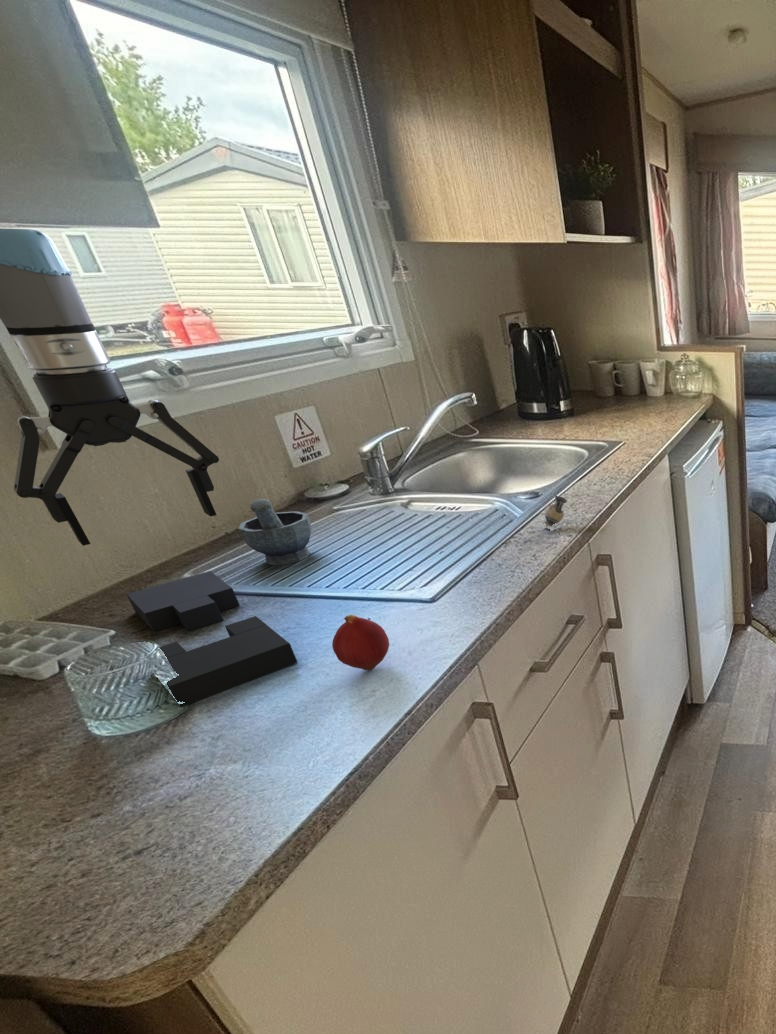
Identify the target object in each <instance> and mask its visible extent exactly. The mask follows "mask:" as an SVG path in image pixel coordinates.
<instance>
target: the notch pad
mask: <svg viewBox="0 0 776 1034" xmlns="http://www.w3.org/2000/svg"><path fill="white" fill-rule="evenodd" d="M224 627H225V630H226V632H227V634H228V636H229V637H226V638H222V639H219V640H216V641H213V642H211V643H207V644H204V645H202V646H198V647H195V648H192V649H189V650H186V649H185V648H184V647H183V646H182V645H181V644H180V643H179V642H178V641H174V642H171V643H168V644H165V645H162V646H158V647H159V648H160V649H161V650H162V651H163V652H164V654H165V656H166V657H167V659H168V661H169V663H170V664H171V666H172V668H173V669H174V671H176V673H177V674H179V676H177V677H176V678H173V679H172V680H170V681H168V682H167V685H168V687H169V689H170V690H171V692H172V694H173V696H174V697H175V699H176V700H177V702H179V701H180V702H182V701H183V702H185V703H183V704H180V705H179V704H178V703H177V702H176V704H177V705H178V706H179V707H180V708H182V707H185V706H188V705H190V704H193V703H196V702H198V701H201V700H203V699H205V698H209V697H212V696H214V695H216V694H219V693H222V692H225V691H227V690H229V689H233V688H234V687H238V686H240V685H242V684H245V683H247V682H251V681H253V680H256V679H259V678H261V677H263V676H266V675H269V674H272V673H274V672H277V671H279V670H282V669H285V668H287V667H290V666H292V665H293V666H294V665H295V664H297V663H298V660H297V657H296V655H295V653H294V651H293V648H292V645H291V643H290V642H289V641H287V640H286V639H285V638H284V637H282V636H281V635H280V634H279V633H278V632H276V631H275V630H274V629H273V628H271V627H270V626H269V625H268V624H267V623H265V622H264V621H263V620H262V619H260V618H259V617H258V616H257V615H255V616H252V617H248V618H245V619H242V620H239V621H235V622H233V623H230V624H226V625H224ZM175 699H173V700H174V701H175Z"/></svg>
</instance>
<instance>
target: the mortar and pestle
mask: <svg viewBox="0 0 776 1034" xmlns="http://www.w3.org/2000/svg"><path fill="white" fill-rule="evenodd" d="M250 510H251V511H252V512H254V513H255V517H253V518H250V519H248V520H245V521H242V522H241V523H240V525H239V526H238V531H239V533H240V536H241V538H242V539H243V541H244V542H245V544H246V545H247V546H248V547H250V548H251V549H252V550H253V551H255V552H258V553H260V554H262V555H264V556H265V557H264V558H265V563H266V564H267V565H272V566H282V565H283V566H285V565H289V564H294V563H298V562H300V561H302V560H305V559H307V558H308V557H310V551H309V548H307V545H308V544H309V543H310V539H311V534H312V530H313V529H312V522H311V518H310V516H309V514H308V513H307V512H302V511H299V510H297V511H295V510H294V511H278V512H275V510H274V509H273V504H272V502H271V501H270V500H268V499H267V498H257V499H255V500H253V501H252V502H251V503H250Z"/></svg>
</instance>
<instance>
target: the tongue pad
mask: <svg viewBox="0 0 776 1034" xmlns="http://www.w3.org/2000/svg"><path fill="white" fill-rule="evenodd" d="M235 593H236V592H235V591H234V589H233V587H232V586H230V585H229V584H228V583H227V582H226V581H224V580H223V579H221V578H220V577H219V576H217V575H216V574H215V573H214V572H213V571H211V570H209V571H205V572H202V573H198V574H194V575H190V576H187V577H183V578H180V579H175V580H172V581H168V582H163V583H161V584H158V585H157V584H156V585H154V586H150V587H146V588H143V589H138V590H135V591H132V592H127V593H125V595H126V597H127V599H128V601H129V602H130V604H131V607H132V609H133V610H134V612H135V613H136V614H137V615H138V617H140V619H141V620H142V621H143V622H145V624H146V625H147V626H148V627H149V628H150V630H151V631H153V633H155V632H156V633H157V632H159V631H162V630H165V629H169V628H171V627H175V626H178V625H182V626H183V627H184V628H185V629H186V630H187V631H188V632H191V631H194V630H198V629H201V628H203V627H207V626H210V625H213V624H216V623H219V622H222V621H224V618H223V616H222V613H221V612H223V611H226V610H230V609H234V608H236V607H239V606H240V602H239V600H238V598H237V596H236V594H235Z"/></svg>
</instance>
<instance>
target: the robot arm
mask: <svg viewBox="0 0 776 1034" xmlns="http://www.w3.org/2000/svg"><path fill="white" fill-rule="evenodd" d="M73 279H74V278H73V277H72V271H71V269H69V268H68V266H67V264H66V262H65V261H64V259H63V257H62V255H61V253H60V251H59V250H58V248H57V246H56V244H55V242H54V241H53V240H52V238H51V237H50V236H48V235H47V234H46V233H45V232H42V231H40V230H36V229H30V228H27V229H26V228H5V227H4V228H1V227H0V320H1V322H2V324H3V325H4V327H5V328H6V330H7V332H8V334H9V336H10V339H11V340H12V342H13V344H14V346H15V348H16V350H17V352H18V354H19V356H20V357H21V359H22V361H23V364H24V365H25V367H26V368H27V369H29V370H31V371H35V373H34V374H33V377H31V379H32V380H33V382H34V384H35V386H36V388H37V389H38V392H39V394H40V395H41V397H42V399H43V401H44V402H45V405H46V407H47V411H48V415H47V416H27V415H18V416H17V417H16V419H15V421H16V424H17V427H18V428H19V431H20V434H21V437H20V443H19V450H18V457H17V464H16V471H15V476H14V483H13V484H14V485H13V491H14V493H15V494H16V495H17V496H18V497H20V498H23V499H28V498H29V499H30V498H31V499H32V498H33V499H39V500H41V501H42V502H43V504H44V506H45V508H46V509H47V511H48V513H49V515H50V517H51V518H52V520H54V521H55V522H57V523H58V524H59V523H60V524H61V523H65V522H67V523H68V525H69V526H70V529H71V531H72V532H73V533H74V535H75V537H76V539H77V542H79V543H80V544H81V546H82V547H84V546H88V545H92V544H91V542H90V540H89V538H88V536H87V534H86V533H85V531H84V529H83V527H82V526H81V523H80V522H79V520H78V518H77V516H76V515H75V512H74V511H73V509H72V507H71V505H70V503H69V501H68V499H67V497H65V495H64V494H63V493H61V492H58V491H59V489H60V487H61V485H62V484H63V482H64V480H65V479H66V476H67V475H68V472H69V471H70V469H71V468H72V466H73V463H74V462H75V460H76V458H77V456H78V455H79V454H80V452H81V451H82V450H83V448H84V446H85V445H88V446H94V447H102V446H104V445H107V444H110V443H111V444H112V443H115V444H121V443H126V442H127V441H128V440H130V439H131V438H132V437H134V438H136V439H138V440H139V441H142V442H144V443H145V444H147V445H149V446H151V447H153V448H155V449H157V450H158V451H160V452H163V453H164V454H167V455H168V456H170V457H172V458H174V459H176V460H178V461H180V462H182V463H184V464H185V465H187V466H189V467H191V468H189V469H185V473H186V474H187V477H188V479H189V482H190V484H191V486H192V488H193V490H194V492H195V495H196V497H197V499H198V502H199V504H200V505H201V508H202V510H203V513H204V514H205V515H207V516H209V517H215V516H217V512H216V510H215V508H214V505H213V503H212V500H211V499H210V496H209V494H208V493H209V492H213V491H215V486H214V483H213V482H212V479H211V477H210V475H209V472H208V467H210V466H211V465H213V464H217V463H219V461H220V458H219V456H218V455H217V454H215V453H214V452H213V451H212V450H210V448H209V447H207V446H206V445H205V444H204V443H202V442H201V441H200V440H199V439H198V438H197V437H196V436H195V435H193V434H192V433H191V432H190V431H188V430H187V429H186V428H185V427H183V426H182V425H181V424H180V423H179V422H178V421H176V420H175V419H174V418H173V417H172V416H171V414H170V412H169V410H168V408H167V407H166V405H165V404H164V403H163V402H161V401H158V400H156V399H150V400H148V401H147V402H145V403H141V404H137V405H135V404H133V403H132V401H131V400H130V398H129V397H128V395H127V392H126V390H125V388H124V386H123V384H122V382H121V379H120V378H119V376H118V374H117V371H116V370H114V369H113V368H112V367H108V366H107V365H109V364H110V363H111V362H112V361H111V358H110V356H109V354H108V352H107V350H106V349H105V346H104V344H103V342H102V340H101V338H100V336H99V333H98V331H97V330H96V328H95V326H94V324H93V322H92V320H91V318H90V315H89V313H88V311H87V308H86V307H85V304H84V302H83V299H82V297H81V295H80V293H79V290H78V288H77V286H76V284H75V282H74V280H73ZM141 415H146V416H147V417H148V418H150V419H152V420H158V422H160V424H162V425H163V427H164V426H165V428H167V429H168V430H169V431H170V432H172V433H173V434H174V435H175V436H176V437H178V438H179V439H180V440H181V441H182V442H183V443H184V444H186V445H187V446H188V447H190V449H192V450H193V451H194V452H195V453H197V455H199V457H197V458H195V457H193V456H191V455H189V454H187V453H186V452H184V451H181V450H180V449H178V448H177V447H174V446H172V445H171V444H169V443H166V442H165V441H162V440H161V439H159V438H157V437H156V436H153V435H152V434H150V433H148V432H146V431H145V430H142V429H140V428H139V427H137V425H138V422H139V421H140V419H141ZM48 427H54V428H55V429H57V430H58V431H61V432H62V433H64V434H66V435H65V436H64V439H63V440H62V441H61V446H60V448H58V449H59V450H58V451H57V453H56V455H55V456H54V457H53V460H52V462H51V464H50V466H49V467H48V469H47V470H46V472H45V475H44V476H43V478H42V479H41V481H40V483H39V484H38V486H37V485H34V482H35V475H36V469H37V463H38V456H39V450H40V441H41V439H40V436H43V435H45V434H46V433H47V428H48Z"/></svg>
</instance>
